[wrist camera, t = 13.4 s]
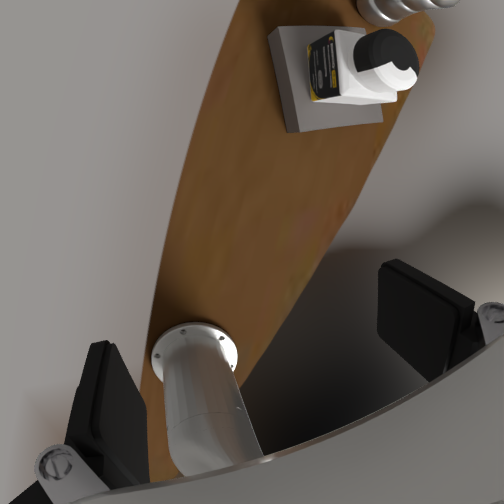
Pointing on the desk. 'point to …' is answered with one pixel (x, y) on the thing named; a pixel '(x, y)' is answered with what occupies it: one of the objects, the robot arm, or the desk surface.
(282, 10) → the desk surface
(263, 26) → the desk surface
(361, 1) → the plastic bottle
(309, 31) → the base block
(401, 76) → the medicine bottle
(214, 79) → the desk surface
